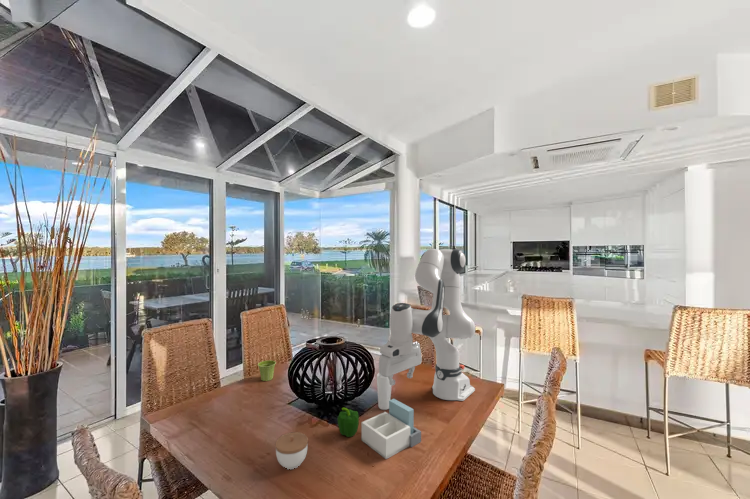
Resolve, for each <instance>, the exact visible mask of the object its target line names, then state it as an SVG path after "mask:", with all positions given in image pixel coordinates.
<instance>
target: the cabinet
mask: <svg viewBox="0 0 750 499" xmlns="http://www.w3.org/2000/svg"><path fill="white" fill-rule="evenodd" d="M361 441H362V442H363V443H364V444H366V445H367V446H368V447H369V448H370V449H372V450H373V451H375V452H376V453H378V455H380V456H381V457H382V458H383V459H385V460H388V459H390V458H391V457H393V456H395V455H396V454H398V453H400V452H401V451H403V450H406V449H407V448H409V447H410V448H413V447H415V446H416V445H418V444H420V443H422V431H421V430H420V429H418V428H417V427H415V426H414V433H413V434H411V435H410V426H408V425H406V424H405V423H403V422H401V421H400V420H398V419H396V418H395V417H393V416H391V415H390V414H389V412H386V411H384V412H381V413H379V414H377V415H375V416H373V417H371V418H368V419H365V420H364V421H361Z"/></svg>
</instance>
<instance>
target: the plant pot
mask: <svg viewBox="0 0 750 499" xmlns="http://www.w3.org/2000/svg"><path fill="white" fill-rule="evenodd" d="M276 364H277V362H276V361H275V360H270V359H269V360H262V361H259V362H258V363H257V367H258V369H259V373H260V380H261V381H263V382H264V381H266V382H270V381H272V379H273V378H274V373H275V372H274V371H275V366H276Z"/></svg>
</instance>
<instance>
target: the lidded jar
mask: <svg viewBox="0 0 750 499" xmlns="http://www.w3.org/2000/svg"><path fill="white" fill-rule="evenodd" d="M308 443H309V438H308V436H307V435H306V434H305V433H303V432H300V431H294V432H287V433H285V434H283V435H281V436H280V437H278V438H277V439H276V441H275V444H274V445H275V455H276V459H277V462H278V464H279V465H281V466H282V467H283V468H284V467H285V468H287V469H286V470H289V469H290V470H295V469H297V468H299V467H300V466H301V464H302V463H303V462H304V460H305V459H306V457H307V453H308ZM298 466H299V467H298ZM285 468H284V469H285ZM294 468H295V469H294Z"/></svg>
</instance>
